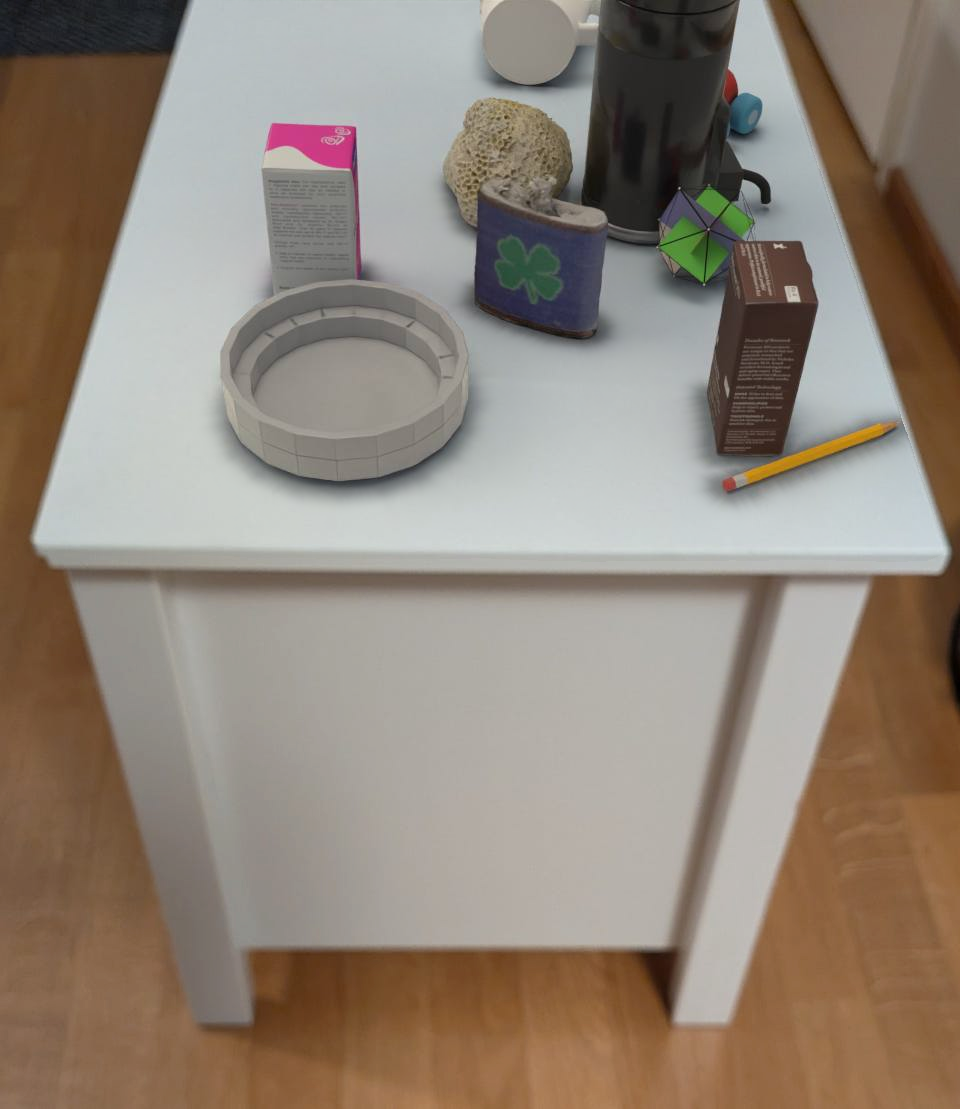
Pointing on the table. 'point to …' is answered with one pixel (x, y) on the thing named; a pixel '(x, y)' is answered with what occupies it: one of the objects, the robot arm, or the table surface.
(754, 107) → the toy car
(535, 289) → the flask
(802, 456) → the pencil
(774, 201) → the table surface
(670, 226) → the geometric puzzle
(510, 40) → the mug
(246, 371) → the bowl
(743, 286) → the box
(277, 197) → the supplement box
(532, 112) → the decorative item
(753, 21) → the table surface
